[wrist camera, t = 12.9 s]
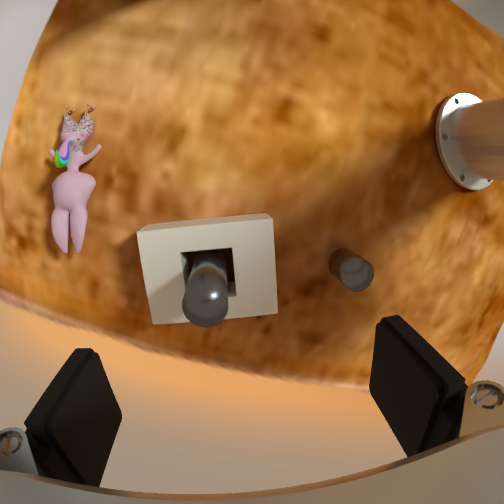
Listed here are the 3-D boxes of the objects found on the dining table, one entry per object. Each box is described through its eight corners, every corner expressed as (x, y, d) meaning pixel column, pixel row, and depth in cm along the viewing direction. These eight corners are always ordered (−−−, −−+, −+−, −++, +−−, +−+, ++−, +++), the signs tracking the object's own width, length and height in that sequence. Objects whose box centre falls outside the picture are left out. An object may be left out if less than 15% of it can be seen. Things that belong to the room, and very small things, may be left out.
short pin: (356, 247, 33) (374, 257, 29) (355, 275, 34) (373, 289, 30) (328, 250, 33) (344, 261, 28) (329, 278, 34) (343, 293, 29)
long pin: (224, 245, 32) (225, 282, 21) (227, 275, 32) (230, 324, 22) (192, 248, 31) (178, 286, 21) (196, 278, 32) (185, 328, 22)
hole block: (266, 212, 31) (272, 218, 27) (271, 297, 33) (278, 313, 30) (146, 224, 30) (136, 232, 27) (160, 307, 33) (153, 324, 29)
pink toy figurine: (64, 116, 28) (54, 251, 29) (38, 98, 22) (25, 256, 23) (113, 110, 28) (104, 252, 30) (94, 89, 23) (81, 258, 24)
